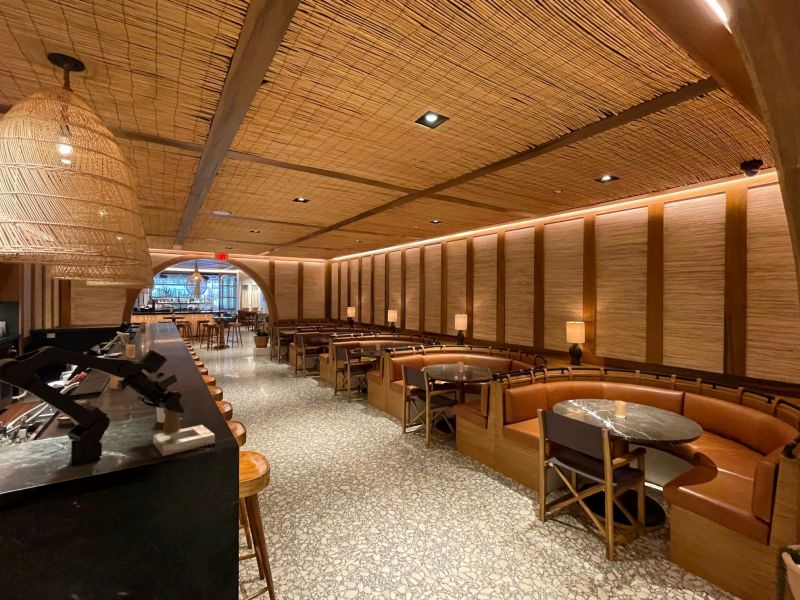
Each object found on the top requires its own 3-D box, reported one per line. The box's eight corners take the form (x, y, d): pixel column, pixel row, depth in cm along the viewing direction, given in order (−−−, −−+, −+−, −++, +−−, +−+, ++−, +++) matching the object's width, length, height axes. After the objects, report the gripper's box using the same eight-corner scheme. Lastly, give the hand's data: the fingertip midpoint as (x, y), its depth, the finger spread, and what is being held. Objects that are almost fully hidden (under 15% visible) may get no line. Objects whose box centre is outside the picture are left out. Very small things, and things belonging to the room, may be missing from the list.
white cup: (182, 419, 148) (182, 395, 148) (161, 424, 142) (161, 399, 142) (172, 416, 152) (173, 392, 153) (151, 421, 146) (152, 396, 146)
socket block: (162, 455, 112) (163, 446, 112) (153, 443, 122) (153, 434, 122) (214, 443, 122) (214, 434, 122) (201, 433, 132) (202, 424, 132)
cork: (178, 437, 128) (179, 406, 128) (158, 438, 126) (159, 407, 126) (183, 431, 133) (184, 401, 134) (165, 433, 132) (165, 402, 132)
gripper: (176, 368, 123) (207, 394, 132) (147, 364, 132) (177, 388, 141) (150, 396, 115) (184, 422, 125) (122, 389, 125) (155, 414, 134)
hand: (176, 410), depth 131 cm, fingers open, 9 cm apart
